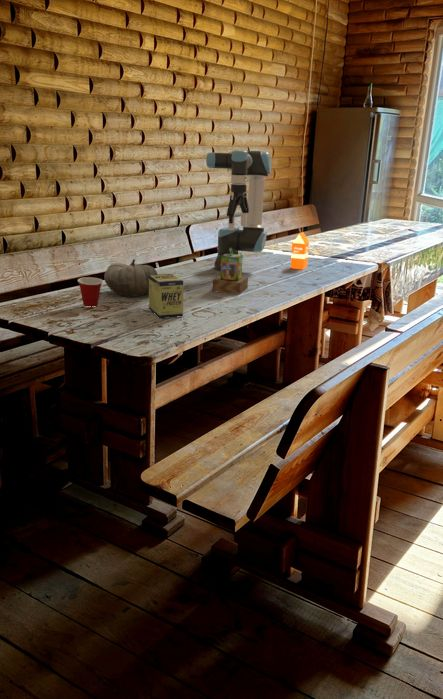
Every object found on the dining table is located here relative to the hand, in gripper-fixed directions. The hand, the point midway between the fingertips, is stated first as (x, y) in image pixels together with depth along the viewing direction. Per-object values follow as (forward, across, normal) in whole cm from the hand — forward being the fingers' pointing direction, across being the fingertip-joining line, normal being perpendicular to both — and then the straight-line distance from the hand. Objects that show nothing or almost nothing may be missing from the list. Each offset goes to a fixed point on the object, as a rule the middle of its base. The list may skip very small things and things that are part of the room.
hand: (237, 228), depth 333 cm
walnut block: (+29, -10, -2) cm, 31 cm away
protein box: (+28, -65, +2) cm, 70 cm away
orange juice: (+31, +63, -10) cm, 71 cm away
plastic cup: (+28, -73, +35) cm, 85 cm away
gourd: (+28, -44, +34) cm, 62 cm away
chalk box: (+23, -10, -2) cm, 25 cm away
